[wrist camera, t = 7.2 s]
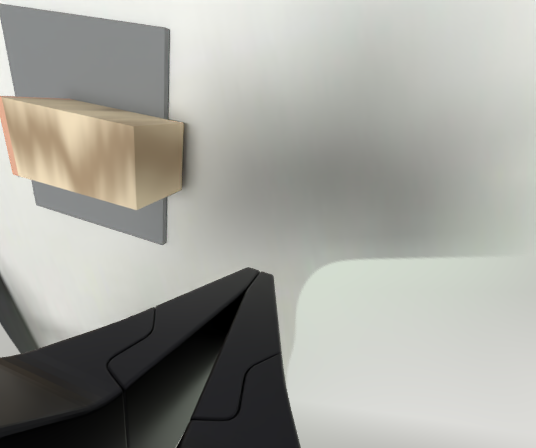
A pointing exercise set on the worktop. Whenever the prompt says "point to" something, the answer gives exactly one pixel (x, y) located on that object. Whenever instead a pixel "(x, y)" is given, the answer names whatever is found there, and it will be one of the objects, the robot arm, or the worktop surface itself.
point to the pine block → (93, 149)
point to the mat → (91, 91)
